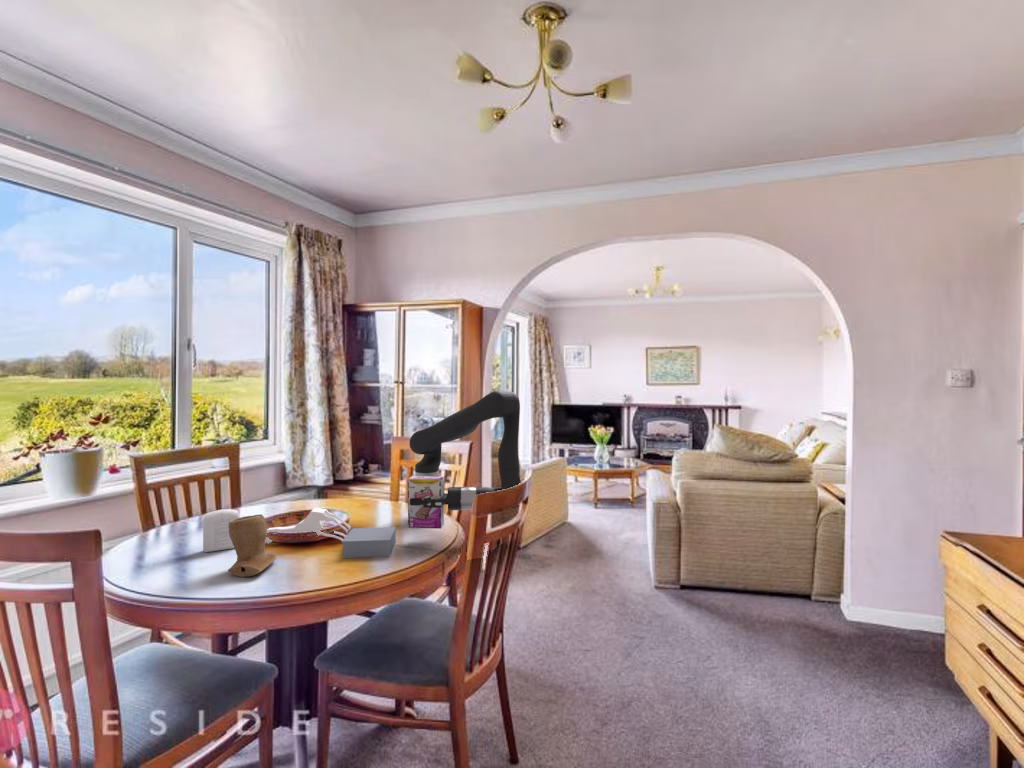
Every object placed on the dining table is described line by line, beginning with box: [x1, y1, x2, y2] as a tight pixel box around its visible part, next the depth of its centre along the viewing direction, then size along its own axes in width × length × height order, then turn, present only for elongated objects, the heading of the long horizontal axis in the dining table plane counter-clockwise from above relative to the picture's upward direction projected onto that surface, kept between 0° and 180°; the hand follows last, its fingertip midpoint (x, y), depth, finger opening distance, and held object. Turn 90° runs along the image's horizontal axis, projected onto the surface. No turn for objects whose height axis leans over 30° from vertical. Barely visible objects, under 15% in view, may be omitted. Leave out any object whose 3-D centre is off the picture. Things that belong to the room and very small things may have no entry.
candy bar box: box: [407, 475, 445, 530], centre depth 180 cm, size 11×5×16 cm, turn 85°
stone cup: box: [227, 514, 277, 578], centre depth 154 cm, size 15×12×15 cm
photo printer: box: [202, 508, 241, 553], centre depth 172 cm, size 10×4×12 cm, turn 123°
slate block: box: [341, 526, 397, 559], centre depth 170 cm, size 14×14×5 cm
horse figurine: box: [265, 507, 352, 545], centre depth 179 cm, size 5×16×25 cm
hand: (410, 499), depth 179 cm, fingers closed on candy bar box, 5 cm apart
